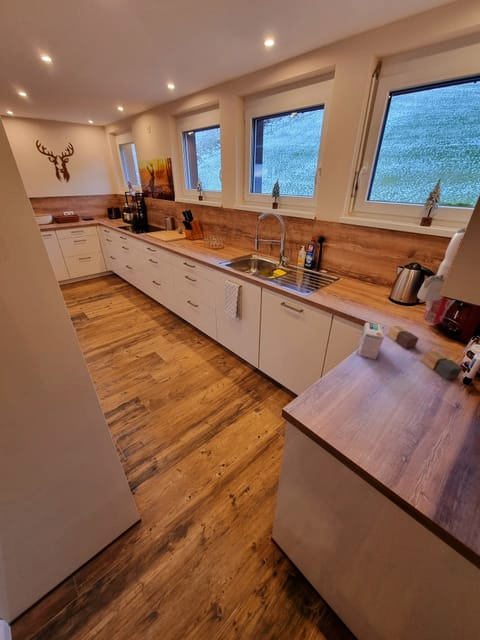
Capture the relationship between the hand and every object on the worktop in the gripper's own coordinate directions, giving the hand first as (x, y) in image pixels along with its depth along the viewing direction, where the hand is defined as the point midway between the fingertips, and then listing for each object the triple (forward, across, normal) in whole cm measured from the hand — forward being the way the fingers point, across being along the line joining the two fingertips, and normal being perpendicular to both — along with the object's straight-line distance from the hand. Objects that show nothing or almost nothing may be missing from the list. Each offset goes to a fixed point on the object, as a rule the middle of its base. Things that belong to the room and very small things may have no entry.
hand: (436, 309), depth 101 cm
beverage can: (+5, 0, 0) cm, 5 cm away
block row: (+20, -1, -1) cm, 21 cm away
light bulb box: (+21, -21, +5) cm, 30 cm away
